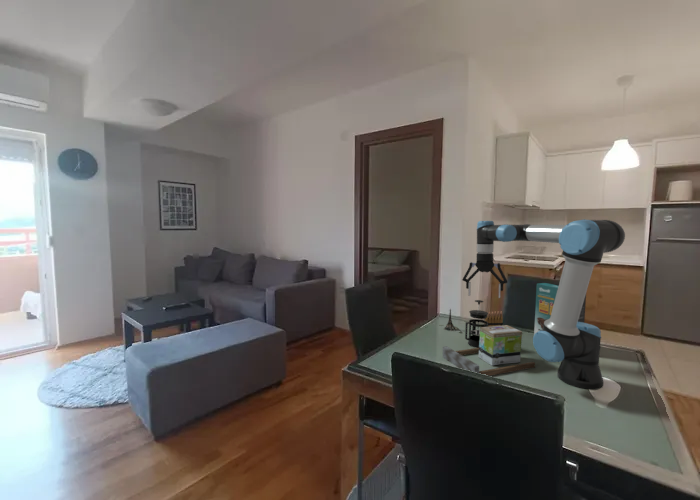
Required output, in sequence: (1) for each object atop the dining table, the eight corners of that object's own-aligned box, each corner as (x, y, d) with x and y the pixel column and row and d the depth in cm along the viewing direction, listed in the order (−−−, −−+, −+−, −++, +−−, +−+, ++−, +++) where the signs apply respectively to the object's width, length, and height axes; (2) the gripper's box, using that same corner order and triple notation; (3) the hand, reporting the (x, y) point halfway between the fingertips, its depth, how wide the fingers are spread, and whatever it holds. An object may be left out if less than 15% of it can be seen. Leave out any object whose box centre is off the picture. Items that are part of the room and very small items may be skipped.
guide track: (534, 367, 148) (535, 356, 147) (474, 378, 138) (475, 366, 137) (497, 348, 169) (497, 338, 168) (442, 357, 159) (442, 346, 158)
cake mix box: (582, 352, 164) (586, 291, 161) (573, 354, 162) (577, 292, 159) (542, 337, 184) (544, 282, 182) (533, 339, 182) (536, 283, 179)
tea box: (492, 366, 148) (493, 333, 147) (478, 357, 158) (479, 326, 157) (521, 362, 152) (522, 330, 151) (505, 354, 162) (506, 323, 161)
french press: (483, 340, 179) (484, 298, 177) (492, 347, 170) (494, 302, 168) (461, 341, 178) (462, 298, 176) (469, 348, 169) (471, 303, 167)
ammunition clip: (501, 330, 196) (502, 310, 195) (503, 331, 194) (503, 310, 193) (483, 331, 195) (484, 310, 194) (485, 332, 193) (485, 311, 192)
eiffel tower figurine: (463, 334, 191) (464, 311, 190) (445, 334, 191) (446, 311, 190) (455, 326, 206) (455, 304, 205) (438, 326, 206) (439, 304, 205)
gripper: (513, 252, 163) (512, 296, 164) (458, 251, 173) (458, 293, 174) (513, 254, 156) (512, 299, 157) (457, 252, 166) (456, 295, 167)
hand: (484, 296), depth 166 cm, fingers open, 13 cm apart
